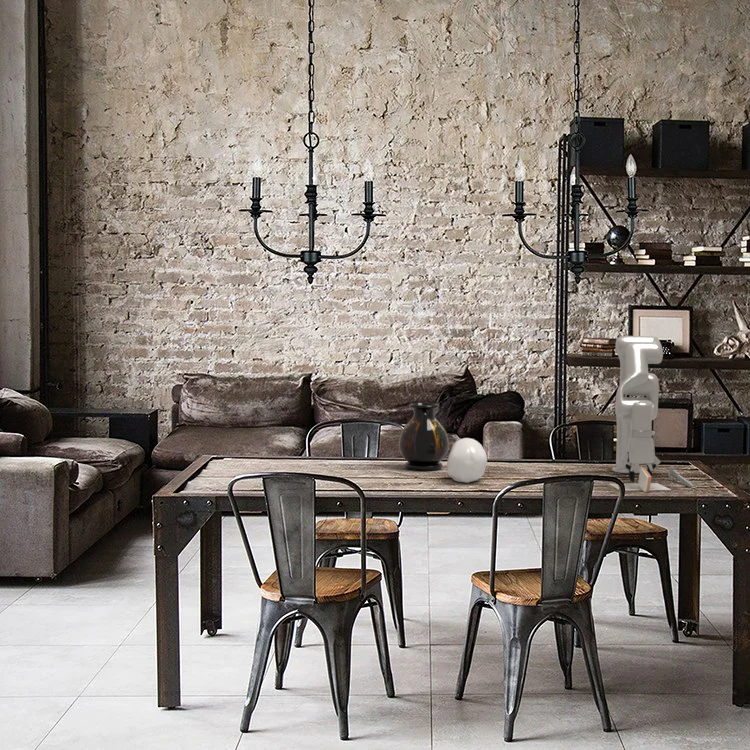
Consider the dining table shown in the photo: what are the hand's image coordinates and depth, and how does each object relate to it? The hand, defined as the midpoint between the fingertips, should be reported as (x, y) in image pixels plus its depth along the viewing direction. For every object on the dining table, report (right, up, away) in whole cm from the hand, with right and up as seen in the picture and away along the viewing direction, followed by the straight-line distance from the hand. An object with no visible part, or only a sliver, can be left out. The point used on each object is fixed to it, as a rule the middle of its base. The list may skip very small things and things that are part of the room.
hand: (640, 480), depth 386 cm
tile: (0, -3, -4) cm, 5 cm away
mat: (+1, -3, +4) cm, 5 cm away
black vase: (-81, 0, +49) cm, 94 cm away
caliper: (+20, -3, +13) cm, 24 cm away
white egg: (-65, -2, +21) cm, 68 cm away
